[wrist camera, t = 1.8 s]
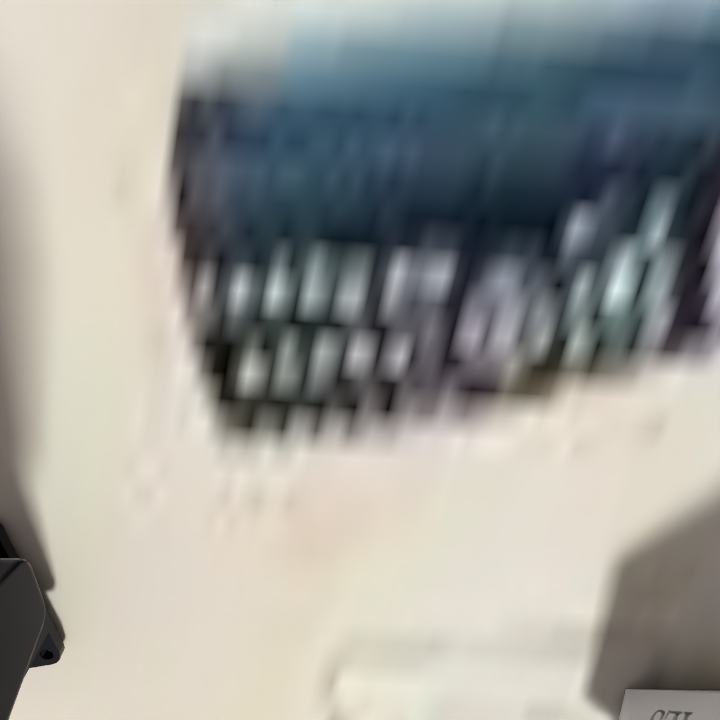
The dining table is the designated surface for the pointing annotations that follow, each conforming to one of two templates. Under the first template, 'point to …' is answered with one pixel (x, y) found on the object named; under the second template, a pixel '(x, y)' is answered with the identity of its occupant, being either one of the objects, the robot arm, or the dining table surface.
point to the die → (670, 705)
